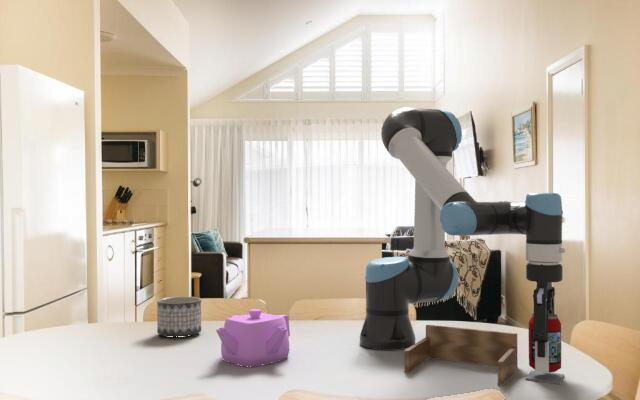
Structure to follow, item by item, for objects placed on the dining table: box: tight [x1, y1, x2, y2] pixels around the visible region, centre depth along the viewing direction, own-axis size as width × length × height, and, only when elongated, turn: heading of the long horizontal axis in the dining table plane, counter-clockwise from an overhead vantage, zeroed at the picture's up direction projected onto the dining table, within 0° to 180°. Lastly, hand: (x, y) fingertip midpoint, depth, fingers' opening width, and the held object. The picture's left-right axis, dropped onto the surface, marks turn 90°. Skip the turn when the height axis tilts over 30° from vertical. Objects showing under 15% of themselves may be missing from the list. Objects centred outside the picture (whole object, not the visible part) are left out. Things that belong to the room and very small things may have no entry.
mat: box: [525, 369, 565, 385], centre depth 135 cm, size 7×7×1 cm
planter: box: [156, 296, 202, 337], centre depth 181 cm, size 13×13×10 cm
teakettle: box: [215, 308, 291, 368], centre depth 153 cm, size 17×17×12 cm
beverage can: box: [528, 312, 562, 373], centre depth 135 cm, size 7×7×12 cm
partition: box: [403, 324, 518, 386], centre depth 142 cm, size 22×16×8 cm
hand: (544, 367), depth 135 cm, fingers closed on beverage can, 7 cm apart
